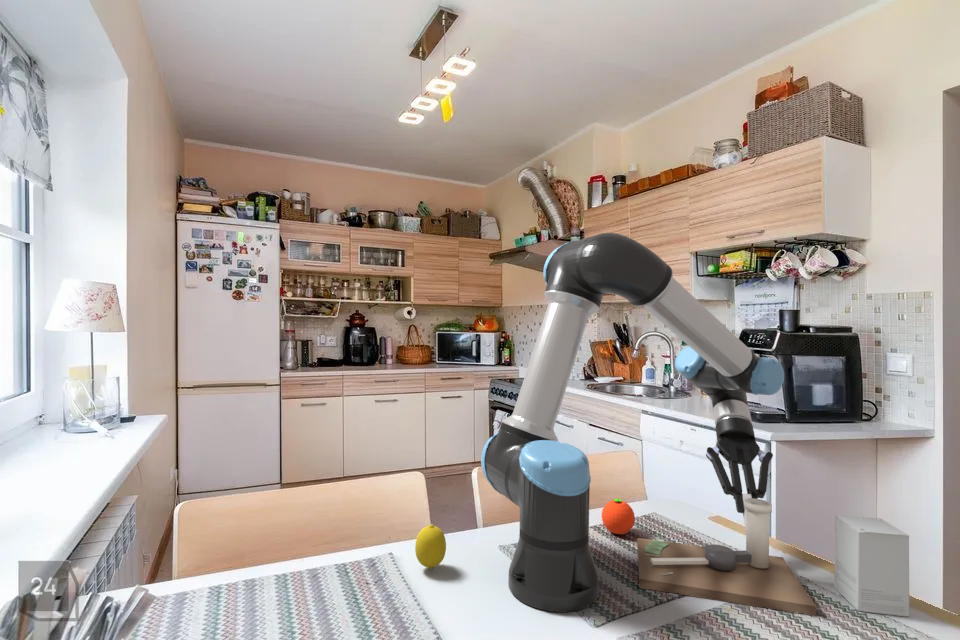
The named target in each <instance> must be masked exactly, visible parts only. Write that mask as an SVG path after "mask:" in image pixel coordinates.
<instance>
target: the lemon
mask: <svg viewBox="0 0 960 640" xmlns="http://www.w3.org/2000/svg"><path fill="white" fill-rule="evenodd" d="M414 547H415V556H416V558H417V561H418V563H419V564H420V565H422V566H423V567H425V568H427V569H428V570H433V569H434V567H437V566H438V565H440V564H441V563H442V562H443V560H444V558H445V555H446V551H447V542H446V537H445V534H444V532H443V531H442V529H441V528H440V527H438V526H435V525H434V524H432V523H431V524H430V523H429V524H428V525H427V526H425V527H423V528H422V529H420V531H419V533H418V534H417V537H416V540H415V546H414Z"/></svg>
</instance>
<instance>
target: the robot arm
mask: <svg viewBox="0 0 960 640" xmlns="http://www.w3.org/2000/svg"><path fill="white" fill-rule="evenodd" d="M542 276H543V280H544V281H545V283H544V284H545V289H544V294H543V295H544V297H545V300H546V301H547V304H548V305H547V307H546V311H545V314H544V317H543V320H542V323H541V325H540V329H539V332H538V335H537V337H536V338H537V339H536V341H535V344H534V347H533V351H532V354H531V357H530V360H529V363H528V365H527V368H526V371H525V375H524V377H523V382H522V384H521V386H520V390H519V393H518V396H517V400H516V401H515V405H514V409H513V410H512V411H513V412H512V413H511V415H509V416H508V417H506V418H504V419H502V420H501V424H500V426H499V428H498V429H499V430H498V432H496V433H495V434H493V435H492V436H490V437H489V438H488V439H487V441H486V442H485V444H484V446H483V448H482V451H481V456H480V466H481V470H482V473H483V476H484V477H485V479H486V481H487V482H488V483H489V484H490V486H491V487H492V488H493V490H495V491H496V492H497V493H499V494H500V495H502V496H504V497H505V498H506V499H508V500H509V501H510V502H512V504H514V505H515V506H517V507H519V535H518V536H519V537H518V541H517V544H516V548H515V550H514V554H513V556H512V559H511V562H510V565H509V568H508V581H507V582H508V588H509V591H510V593H511V594H512V595H513V596H514V597H515V598H516V599H518V600H519V601H520V602H522V603H524V604H526V605H528V606H530V607H533V608H535V609H538V610H543V611H548V612H557V613H559V612H561V613H562V612H563V613H565V612H566V613H567V612H575V611H579V610H583V609H585V608H587V607H589V606H591V605H593V604H594V603H595V602H596V601H597V599H598V598H599V594H600V579H599V574H598V571H597V567H596V564H595V561H594V558H593V555H592V550H591V547H590V543H589V541H590V540H589V539H590V538H589V534H590V533H589V532H590V531H589V530H590V493H591V492H590V491H591V490H590V489H591V488H590V487H591V486H590V485H591V481H592V480H591V479H592V477H591V471H590V463H589V462H590V461H589V459H588V457H587V455H586V454H585V452H584V451H583V450H581V449H580V448H578V447H576V446H575V445H572V444H570V443H568V442H567V443H566V442H565V443H563V442H560V441H559V439H558V436H557V435H556V432H555V430H554V428H555V425H556V422H557V419H558V415H559V412H560V408H561V405H562V402H563V399H564V396H565V393H566V389H567V387H568V384H569V381H570V377H571V374H572V371H573V368H574V365H575V361H576V358H577V355H578V352H579V349H580V345H581V342H582V339H583V336H584V332H585V329H586V327H587V323H588V321H589V317H590V316H591V315H593V314H596V313H598V312H599V310H600V307H601V304H602V301H603V297H604V295H608V294H612V295H616V296H619V297H621V298H623V299H625V300H627V301H628V302H629V303H630V304H632V305H633V306H634V307H638V308H640V307H641V308H642V307H643V308H645V310H646V311H648V312H649V313H650V314H651V315H652V316H654V317H655V318H656V319H657V320H658V321H660V322H661V323H662V324H663V325H664V326H665V327H666V328H667V329H669V331H671V332H672V333H673V334H675V336H676V337H678V338H679V339H680V340H681V341H683V343H685V344H686V345H687V346H686V347H684V348H683V349H681V351H679V353H678V354H677V356H676V357H675V360H674V367H675V369H676V371H677V372H678V373H679V374H681V376H682V377H683V378H684V379H685V380H688V381H689V382H690V383H691V384H693V385H694V386H695V387H696V388H697V389H699V390H701V392H703V393H704V394H705V395H706V396H708V397H709V398H710V400H711V405H712V412H713V419H714V425H715V435H716V444H715V446H713V447H711V446H709V447H706V452H705V456H706V458H707V459H708V460H709V461H710V462H711V465H712V467H713V469H714V472H715V473H716V477H717V478H718V481H719V484H720V486H721V488H722V491H723V493H724V494H725V495H726V496H728V495H729V496H731V497H733V500H735V509H736V511H737V513H738V514H739V513H740V514H742V516H743V517H742V518H743V524H744V530H745V532H746V509H745V508H744V499H747V498H754V499H764V498H765V495H766V493H767V488H768V487H767V486H768V479H769V478H768V477H769V476H768V475H769V467H770V466H769V465H770V464H771V461H772V460H773V457H774V454H773V452H770V451H764V450H762V449H761V448H760V446H759V444H758V443H757V441H756V435H755V431H754V426H753V422H752V421H753V420H752V416H751V411H750V407H749V403H748V398H747V394H752V395H755V396H758V395H763V396H772V395H775V394H777V393H778V392H779V391H780V390H781V388H782V385H783V384H784V381H785V371H784V368H783V366H782V364H781V363H780V361H778V360H777V359H774V358H771V357H766V356H762V357H761V356H758V355H757V354H756V353H755V352H753V351H752V350H751V348H749V347H748V346H747V345H746V344H745V343H744V342H743V341H742V340H740V338H739V337H737V335H735V334H734V333H733V332H732V331H731V330H730V329H728V327H727V326H726V325H724V324H723V323H722V322H721V320H720V319H719V318H717V317H716V316H715V315H714V314H713V313H712V312H711V311H709V310H708V309H707V308H706V307H705V306H704V305H703V304H702V303H701V302H700V301H699V300H698V299H697V298H696V297H694V295H692V294H691V293H690V292H689V290H687V289H686V288H685V287H684V286H683V285H682V284H681V283H679V281H677V280H676V279H675V278H674V270H673V269H672V268H671V266H670V265H668V264H667V263H666V262H665V260H663V258H661V257H660V256H659V255H658V254H656V253H655V252H654V251H652V250H651V249H649V248H648V247H646V246H645V245H644V244H642V243H640V242H638V241H636V240H635V239H633V238H631V237H628V236H627V235H623V234H621V233H620V234H619V233H618V232H617V233H615V232H602V233H597V234H595V235H593V236H589V237H586V238H583V239H579V240H577V239H576V240H572V241H568V242H566V243H564V244H561V245H560V246H558V247H556V248H554V249H553V251H552V252H551V253H550V254H549V255H548V256H547V258H546V261H545V263H544V266H543V273H542ZM720 456H721V457H723V458H724V460H726V461H727V462H728V469H729V471H730V478H731V481H730V479H729V476H728V473H727V472H726V469H725V467H724V464H723V463H722V460H721V457H720ZM757 456H758V461H759V462H760V466H759V475H758V483H757V484H758V486H757V485H756V481H755V477H754V476H755V475H754V471H753V470H754V469H753V466H752V462H754V460H755V459H756V457H757ZM739 465H741V468H742V471H743V476H744V483H745V487H746V492H747V493H743V486H742V481H741V473H740V469H739Z"/></svg>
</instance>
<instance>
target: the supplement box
mask: <svg viewBox="0 0 960 640" xmlns="http://www.w3.org/2000/svg"><path fill="white" fill-rule="evenodd" d="M834 589H835V590H836V591H838V593H839V594H840V595H841V596H843V598H845V600H847V601H848V603H850V605H851V606H852V607H854V608H855V609H856V611H858V612H865V613H866V612H867V613H870V614H872V613H873V614H882V615H890V616H899V617H910V535H909V534H907V533H906V532H904V531H902V530H901V529H899V528H897V527H896V526H894V525H892V524H891V523H889V522H887V521H885V520H884V519H882V518H878V517H877V518H876V517H865V516H849V515H834Z"/></svg>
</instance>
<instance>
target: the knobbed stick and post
mask: <svg viewBox="0 0 960 640" xmlns="http://www.w3.org/2000/svg"><path fill="white" fill-rule="evenodd" d="M744 508H745V509H746V531H745V536H746V537H745V541H746V542H745V550H734V549H732V548H730V547H727V546H725V545H720V544H715V543H714V544H712V543H711V544H707V545H705V546H704V547H705V558H651V563H652V564H653V565H673V564H707V565H708V566H710V567H712V568H714V569H717V570H722V571H732V570H734V569H735V563H747V564H749V565H751V566H753V567H756V568H763V569H764V568H768V567H769V555H770V514H771V513H772V512H773V504H772V503H771V502H769V501H767V500H765V499H762V498H757V499H754V498H747V499H744Z"/></svg>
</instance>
